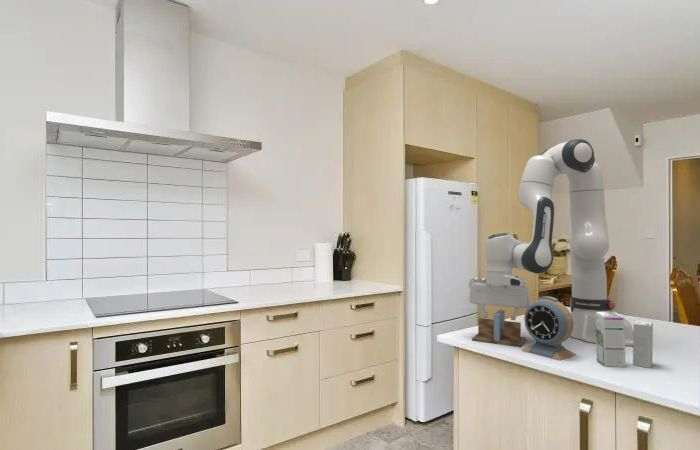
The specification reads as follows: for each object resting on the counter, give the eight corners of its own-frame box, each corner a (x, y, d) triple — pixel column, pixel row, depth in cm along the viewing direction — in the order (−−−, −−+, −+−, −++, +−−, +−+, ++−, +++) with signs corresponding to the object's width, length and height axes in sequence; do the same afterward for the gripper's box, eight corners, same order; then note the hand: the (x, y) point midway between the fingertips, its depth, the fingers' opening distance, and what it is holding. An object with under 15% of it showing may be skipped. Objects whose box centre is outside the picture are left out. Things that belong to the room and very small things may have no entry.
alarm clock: (518, 350, 132) (518, 295, 133) (535, 345, 138) (535, 292, 138) (563, 361, 121) (562, 301, 121) (579, 355, 127) (578, 298, 127)
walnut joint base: (526, 339, 145) (525, 320, 145) (520, 347, 136) (520, 326, 136) (480, 333, 153) (479, 315, 154) (472, 340, 144) (472, 321, 144)
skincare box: (634, 360, 122) (634, 319, 122) (653, 363, 119) (653, 321, 119) (632, 365, 117) (631, 322, 117) (651, 368, 114) (651, 325, 114)
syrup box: (626, 367, 115) (625, 315, 116) (603, 366, 116) (602, 314, 117) (617, 361, 121) (616, 311, 121) (595, 360, 122) (595, 311, 122)
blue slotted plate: (499, 341, 140) (499, 315, 140) (493, 340, 141) (493, 314, 141) (504, 334, 149) (504, 309, 149) (499, 334, 150) (499, 309, 150)
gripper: (466, 278, 147) (467, 317, 147) (528, 281, 137) (528, 323, 137) (471, 276, 153) (471, 314, 153) (530, 279, 143) (531, 319, 142)
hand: (499, 318), depth 145 cm, fingers open, 8 cm apart
